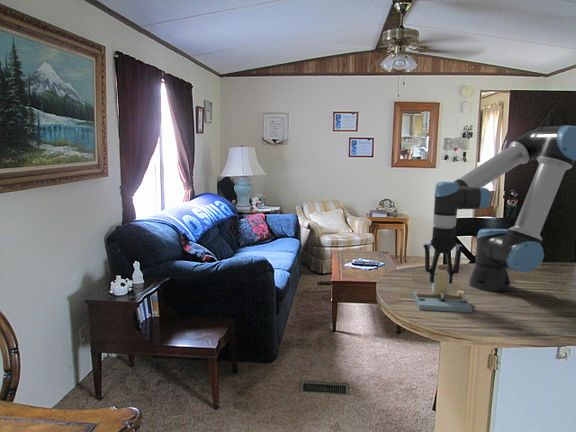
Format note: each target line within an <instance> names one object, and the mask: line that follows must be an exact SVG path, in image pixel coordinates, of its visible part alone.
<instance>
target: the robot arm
mask: <svg viewBox="0 0 576 432" xmlns="http://www.w3.org/2000/svg"><path fill="white" fill-rule="evenodd" d="M533 160H537V162H538V166H537V168H536V172H535V173H534V176H533V179H532V181H531V183H530V186H529V189H528V190H527V193H526V196H525V198H524V201H523V204H522V207H521V209H520V211H519V214H518V216H517V219H516V221H515V223H514V226H511V227H509V228H507V229H506V228H481V229H479V231H478V232H477V235H476V251H475V263H474V268H473V269H472V272H471V274H470V276H469V278H468V279H469V282H468V284H469V286H471V287H472V288H475V289H478V290H480V291H487V292H494V293H501V292H507V291H510V290H511V288H512V281H511V278H510V275H509V271H508V269H510V270H512V271H516V272H519V273H529V272H530V273H531V272H532V271H535V270H536V269H538V267H539V266H540V265H541V264H542V262H543V260H544V258H545V252H544V248H543V246H542V245H541V244H542V242H543V238H542V236H541V232H542V230H543V227H544V224H545V222H546V220H547V217H548V215H549V212H550V209H551V207H552V205H553V202H554V199H555V197H556V196H557V192H558V189H559V188H560V185H561V182H562V180H563V178H564V175H565V172H567V170H570V169H572V168H573V165H574V163H575V161H576V125H569V124H567V125H566V124H565V125H560V126H559V125H557V126H555V125H554V126H541V127H537V128H535V129H533V130H530V131H528V132H527V133H524V134H523V135H521V136H519V137H518V138H516V139H515V140H513V141H511V142H510V143H509V145H508V147H507V148H506V149H503V150H502V151H500V152H499V153H497V154H496V155H494V156H493V157H491V158H489V159H488V160H486V161H484V162H483V163H481V164H480V165H478V166H477V167H475V168H473V169H472V170H470V171H469V172H466V173H465V174H464V175H462V176H460V177H459V178H457V179H455V180H454V181H438V182H436V184H435V187H434V188H435V190H434V205H433V207H434V208H433V223H432V225H433V227H432V235H431V237H432V238H431V240H430V242H427V243H423V245H422V246H423V248H424V271H425V272H426V273H429V282H430V284H432V286H431V287H432V288H431V292H432V293H436V279H437V274H436V273H435V270H437V265H438V262H439V258H440V255H441V254H445V259H446V265H447V266H446V267H447V273H448V278H447V293H446V294H449V289H450V284H453V276H454V274H455V275H456V274H458V273H460V264H461V255H462V252H463V251H464V246H463V245H462V244H458V243H457V242H456V241H457V240H456V232H457V229H456V226H457V215H458V210H478V211H479V210H484V209H487V208H488V207H489V206H490V205H491V202H492V194H491V192H490V190H489V189H488V188H487V187H485V186H487V185H488V184H490V183H491V182H493V181H495V180H497V179H498V178H499V177H501V176H503V175H504V174H506V173H508V172H510V171H511V170H513V169H514V168H515V167H517V166H519V165H524V164H527V163H529V162H531V161H533ZM431 246H432V247H431ZM431 248H433V249H434V253H433V254H434V255H433V258H432V262H431V265H430V261H431V260H430V259H431V258H430V256H431V255H430V250H431ZM454 248H455V256H454V261H453V262H454V263H452V250H453V249H454ZM453 264H454V265H453Z"/></svg>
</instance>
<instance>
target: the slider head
mask: <svg viewBox="0 0 576 432" xmlns="http://www.w3.org/2000/svg"><path fill="white" fill-rule="evenodd" d="M435 273H436V274H437V279H436V293H435V294H436V295H441V300H444V295H446V294H448V293H447V278H448V271H447V270H444V269H443V270H442V269H441V270H439V269H436V270H435Z"/></svg>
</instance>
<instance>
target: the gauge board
mask: <svg viewBox="0 0 576 432" xmlns="http://www.w3.org/2000/svg"><path fill="white" fill-rule="evenodd" d="M412 292H413V294H412V297H413V298H414V301H415V303H416V305H417V307H418V308H417V309H418V310H422V311H423V310H426V311H442V312H443V311H444V312H460V313H461V312H462V313H473V307H472V305H471V304H470V303H469V301H467V299H466V292H465V291H464V290H457V291H456V293H446V295H444V300H441V295H436V294H435V293H433V292H425V291H424V292H423V291H422V292H421V291H412Z"/></svg>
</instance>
